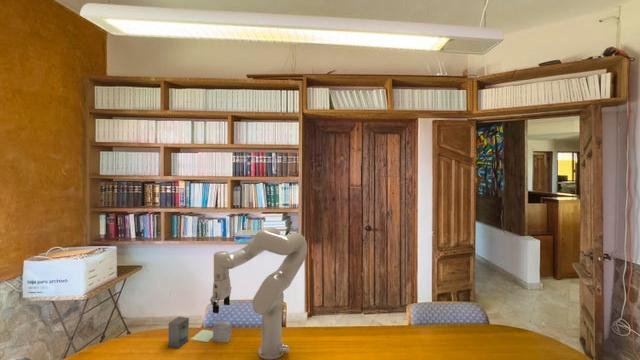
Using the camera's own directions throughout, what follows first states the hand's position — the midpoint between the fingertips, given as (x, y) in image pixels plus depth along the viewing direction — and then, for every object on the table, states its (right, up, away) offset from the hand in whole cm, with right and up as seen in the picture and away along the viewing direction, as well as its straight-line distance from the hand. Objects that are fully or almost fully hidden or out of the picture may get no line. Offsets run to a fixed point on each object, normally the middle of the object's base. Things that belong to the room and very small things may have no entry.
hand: (221, 308), depth 149 cm
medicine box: (0, -17, 0) cm, 17 cm away
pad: (-10, -16, +3) cm, 19 cm away
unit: (-20, -16, -4) cm, 26 cm away
